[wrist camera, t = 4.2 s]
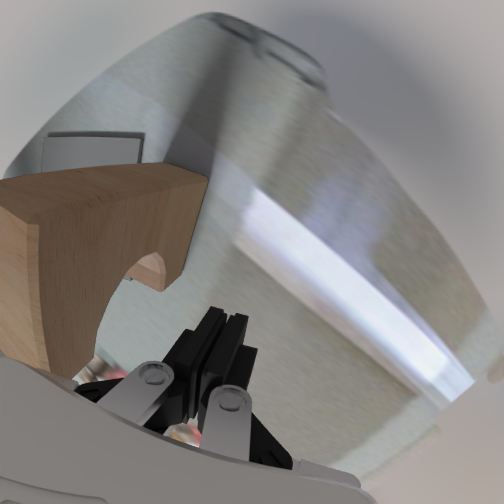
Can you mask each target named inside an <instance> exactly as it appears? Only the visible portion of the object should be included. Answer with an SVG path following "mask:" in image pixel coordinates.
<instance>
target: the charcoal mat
mask: <svg viewBox="0 0 504 504" xmlns="http://www.w3.org/2000/svg"><path fill="white" fill-rule="evenodd" d="M142 146H143V139H136V138H115V137H46V138H44V144H43V154H42V167H41V173H44V172H51V171H58V170H66V169H75V168H84V167H94V166H106V165H120V164H137V163H140V161H141V153H142ZM123 279H126V280H129V281H131V280H132V279H133V278H131V277H129V276H127V275H125V276H124V277H123Z"/></svg>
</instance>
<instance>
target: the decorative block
mask: <svg viewBox="0 0 504 504" xmlns="http://www.w3.org/2000/svg"><path fill="white" fill-rule="evenodd" d="M207 184H208V179H207V177H206V176H203V175H200V174H197V173H194V172H191V171H189V170H186V169H183V168H180V167H177V166H174V165H171V164H167V163H164V162H160V163H137V164H120V165H106V166H94V167H84V168H75V169H66V170H58V171H51V172H44V173H37V174H30V175H24V176H18V177H13V178H7V179H2V180H0V348H1V351H2V352H3V353H4V354H5V355H6V356H7V357H9V358H12V359H16V360H19V361H22V362H24V363H26V364H29V365H31V366H33V367H34V368H41V369H44V370H47V371H49V372H52V373H55V374H57V375H60V376H63V377H66V378H68V379H72V378H73V377H74V376H75V375H76V374H77V373H78V372H79V371H80V370H81V369H82V368H83V367H84V366H85V365H86V364H87V363H88V362H90V361H91V360H92V359H93V357H94V349H95V342H96V336H97V330H98V327H99V325H100V322H101V320H102V317H103V315H104V312H105V310H106V308H107V305H108V303H109V300H110V298H111V297H112V295H113V293H114V292H115V290H116V289H117V287H118V285H119V284H120V282H121V281H122V279H123V277H124V276H125V275H127V276H129V277H131V278H133V279H135V280H137V281H139V282H141V283H143V284H145V285H147V286H149V287H151V288H153V289H155V290H157V291H159V292H162V291H164V290H165V289H166V288H167V287H168V286H169V285H170V284H172V283H173V282H174V281H175V280H176V279H177V278H178V277H179V276H180V275H181V273H182V270H183V266H184V262H185V259H186V255H187V251H188V248H189V244H190V241H191V237H192V234H193V230H194V227H195V224H196V220H197V217H198V214H199V210H200V207H201V204H202V200H203V197H204V194H205V191H206V188H207Z"/></svg>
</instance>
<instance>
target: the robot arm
mask: <svg viewBox="0 0 504 504" xmlns="http://www.w3.org/2000/svg"><path fill="white" fill-rule="evenodd" d="M248 317H249V316H247V315H243V314H239V313H236V314H235V316H233V315H230V317H229V319H228V321H227V314H226V313H224V310H223V309H220V308H216V307H213V306H211V307H210V308H209V310H208V311H207V313H206V314H205V316H204V317H203V319H202V320H201V322H200V323H199V325H198V326H197V328H196V329H195V331H192V330H189V329H185V330H184V331H183V333H182V334H181V336H180V337H179V338H178V340H177V341H176V343H175V344H174V345H173V347H172V348H171V349H170V351H169V352H168V354H167V355H166V356H165V358H164V359H163V361H162V362H159V361H147V362H144V363H142V364H140V365H139V366H138V367H137V368H135V369H134V370H133V371H132V372H131V373H130V374H129V375H127V376H126V377H125V378H118V379H112V380H105V381H98V382H90V383H85V384H81V385H79V384H78V382H77V381H74V380H71V379H68V378H66V377H63V376H60V375H57V374H55V373H52V372H49V371H47V370H44V369H41V368H34V367H33V366H31V365H29V364H26V363H24V362H22V361H19V360H16V359H12V358H9V357H7V356H6V355H5V354H4V353H3V352H2V351H1V348H0V504H378V503H377V501H376V500H375V499H374V498H373V497H372V496H371V495H370V494H368V493H367V492H365V491H363V490H362V489H361V484H360V482H359V480H358V479H357V478H356V477H355V476H354V475H352V474H350V473H347V472H343V471H339V470H335V469H332V468H328V467H325V466H322V465H318V464H315V463H312V462H309V461H306V460H303V459H301V461H298V460H295V459H292V457H291V456H290V454H289V453H288V452H287V451H286V450H285V449H284V448H283V447H282V445H281V444H280V443H279V442H278V441H277V440H276V439H275V438H274V437H273V436H272V435H271V433H270V432H269V431H268V430H267V429H266V428H265V427H264V426H263V424H262V423H261V422H260V421H259V420H258V419H257V418H256V416H255V415H254V414H253V413H252V412H251V411H252V400H251V397H250V395H249V393H248V392H247V391H246V390H247V387H248V384H249V380H250V377H251V373H252V370H253V366H254V362H255V358H256V354H257V350H258V349H257V348H253V347H249V346H245V345H243V342H244V337H245V332H246V327H247V322H248ZM226 321H227V323H226ZM197 412H198V418H197V420H198V427H197V428H198V430H199V431H200V433H201V434H202V436H201V441H200V446H199V448H198V447H195V446H192V445H189V444H186V443H183V442H180V441H177V440H175V439H172V438H169V437H168V436H169V434H170V433H171V432H172V430H173V428H174V425H176V424H180V423H185V424H187V422H188V420H189V418H192V419H194V418H195V416H196V414H197Z"/></svg>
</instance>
